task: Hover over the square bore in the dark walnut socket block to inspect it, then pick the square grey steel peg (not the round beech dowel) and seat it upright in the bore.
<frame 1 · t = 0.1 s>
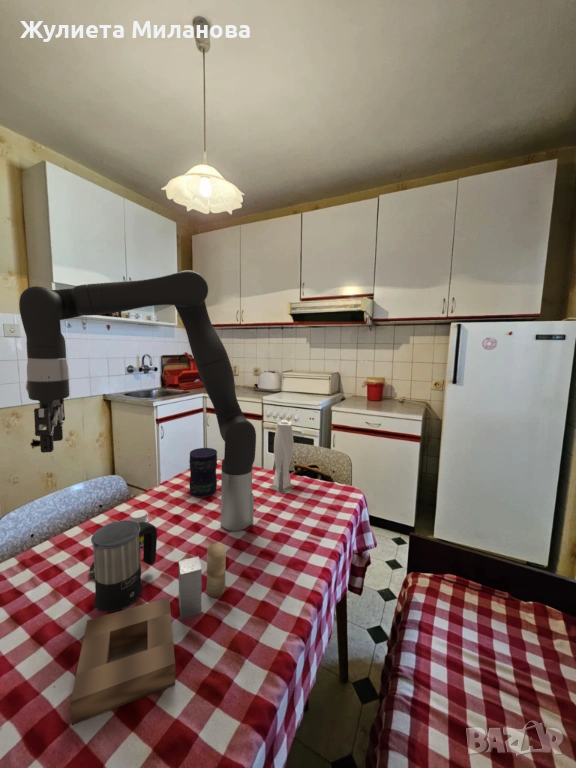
hand: (52, 445, 73), 29 cm above the table, fingers open, 8 cm apart
supplement bottle: (139, 543, 85), on the table
skyscraper: (281, 487, 122), on the table
round dowel: (216, 589, 70), on the table
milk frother: (113, 585, 70), on the table
square peg: (189, 608, 64), on the table
bore block: (128, 660, 54), on the table
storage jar: (203, 491, 115), on the table
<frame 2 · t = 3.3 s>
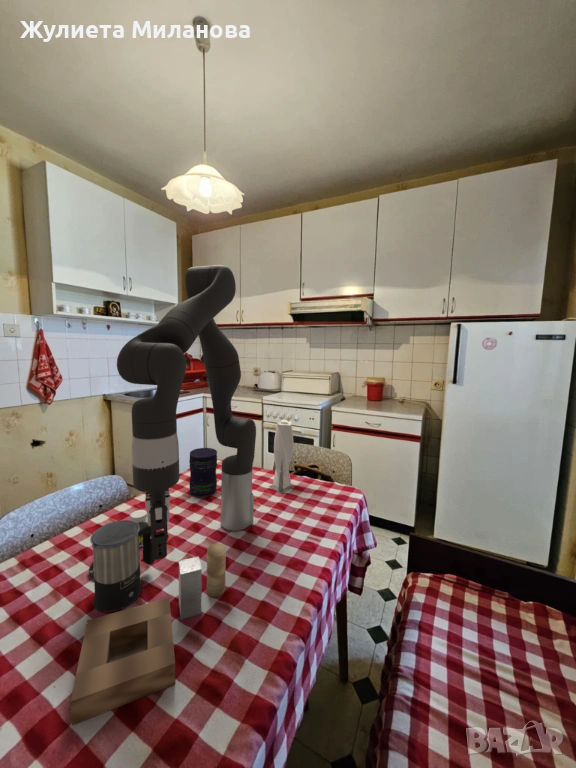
hand: (159, 542, 57), 19 cm above the table, fingers open, 8 cm apart
nothing on the table moved.
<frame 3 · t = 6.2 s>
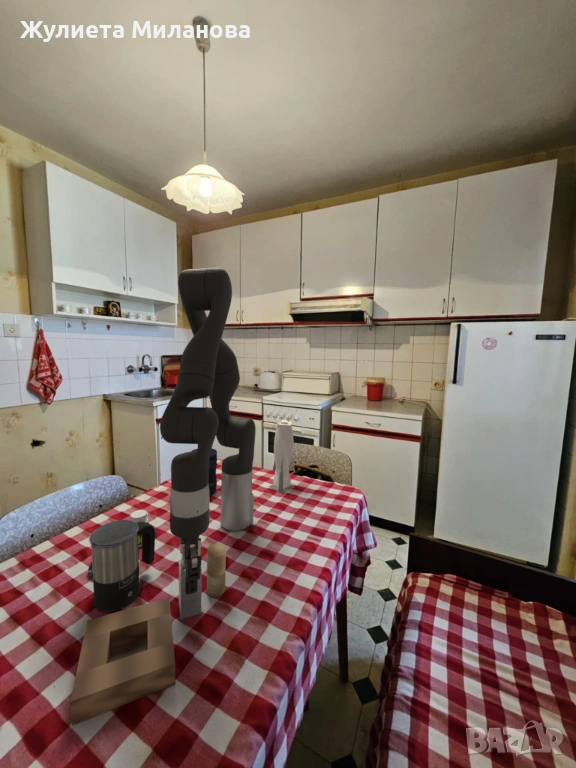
hand: (189, 583, 64), 6 cm above the table, fingers closed on square peg, 4 cm apart
square peg: (189, 608, 64), on the table, touching gripper
everything else where it was.
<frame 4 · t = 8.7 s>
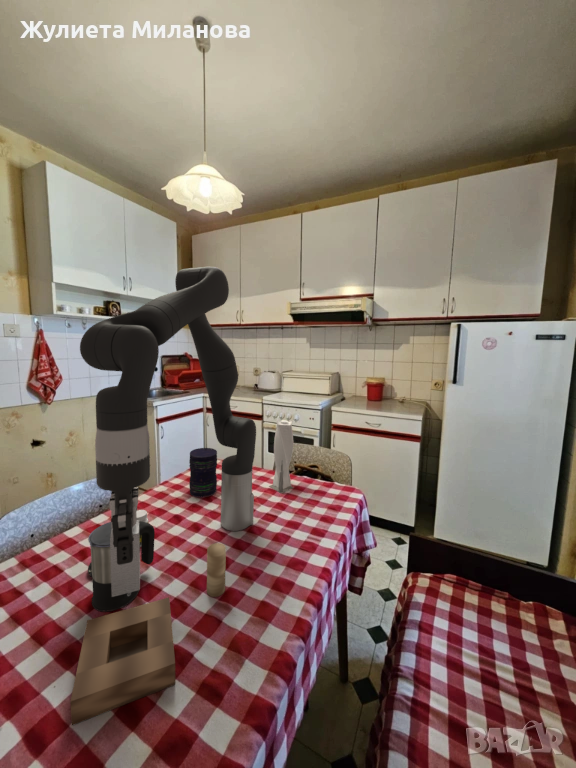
hand: (126, 552, 51), 20 cm above the table, fingers closed on square peg, 4 cm apart
square peg: (126, 584, 52), point 15 cm above the table, touching gripper
everything else where it was.
when the fingers open (8 cm above the table, at t = 11.1 s): square peg drops 2 cm, resting on bore block.
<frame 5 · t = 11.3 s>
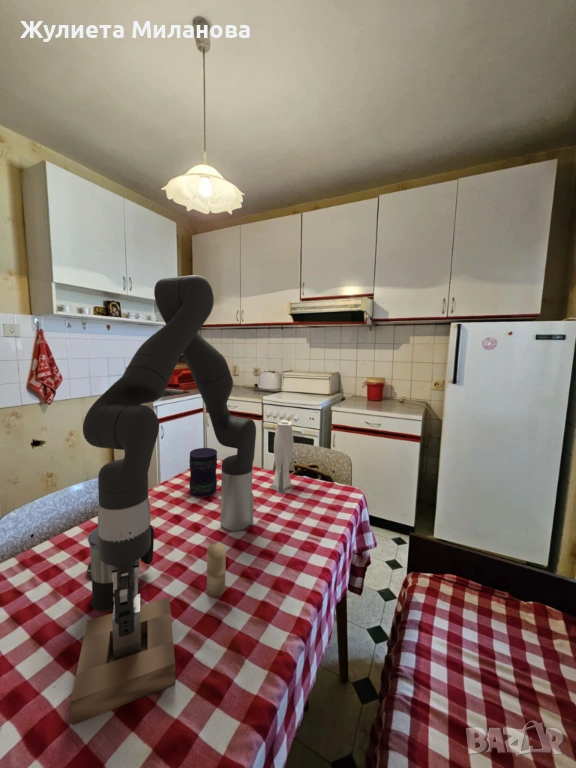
hand: (127, 616, 53), 9 cm above the table, fingers open, 6 cm apart
square peg: (128, 657, 54), point 1 cm above the table, touching bore block
everything else where it was.
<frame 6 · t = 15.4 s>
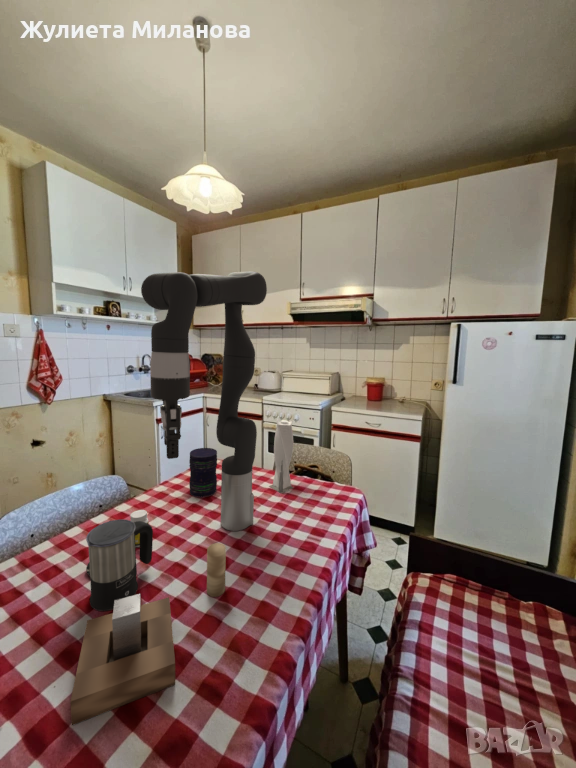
hand: (171, 450, 65), 32 cm above the table, fingers open, 8 cm apart
at the end: square peg 0.1 cm off-centre on the bore block, point 0.6 cm above the bore block's base; square peg tilted 0°; the gripper is holding nothing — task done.
